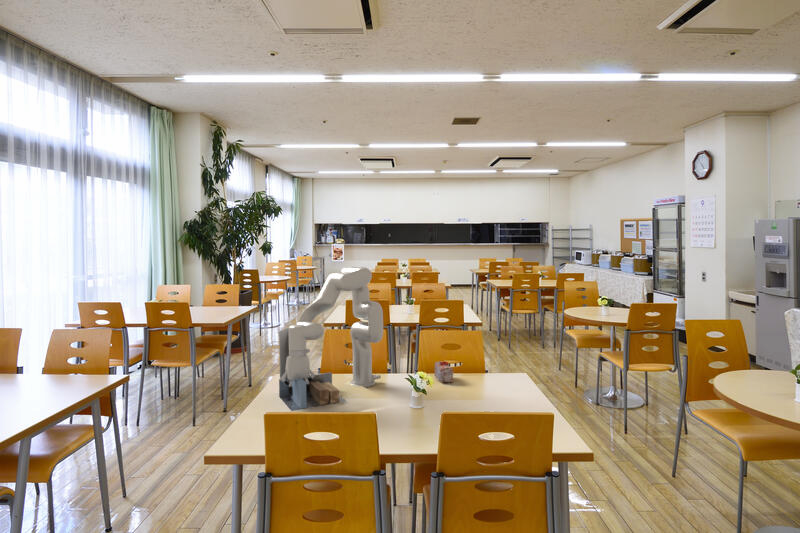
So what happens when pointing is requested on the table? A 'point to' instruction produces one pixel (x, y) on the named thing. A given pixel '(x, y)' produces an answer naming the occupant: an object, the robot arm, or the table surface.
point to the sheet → (299, 392)
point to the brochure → (283, 349)
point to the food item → (443, 372)
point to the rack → (309, 400)
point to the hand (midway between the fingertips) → (298, 393)
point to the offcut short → (332, 392)
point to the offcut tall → (319, 392)
